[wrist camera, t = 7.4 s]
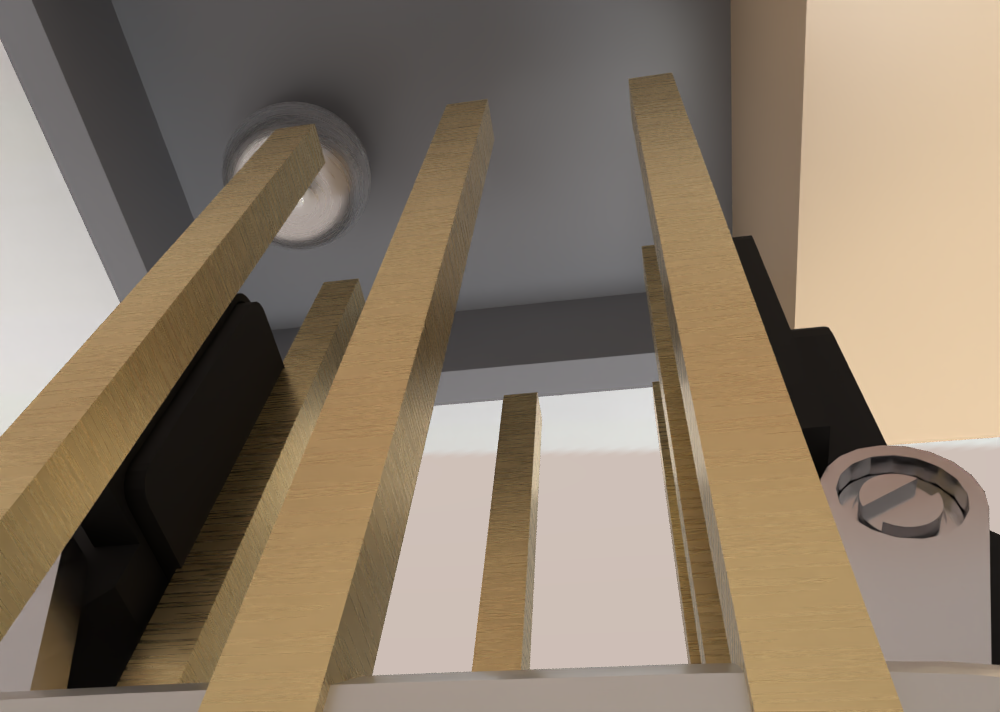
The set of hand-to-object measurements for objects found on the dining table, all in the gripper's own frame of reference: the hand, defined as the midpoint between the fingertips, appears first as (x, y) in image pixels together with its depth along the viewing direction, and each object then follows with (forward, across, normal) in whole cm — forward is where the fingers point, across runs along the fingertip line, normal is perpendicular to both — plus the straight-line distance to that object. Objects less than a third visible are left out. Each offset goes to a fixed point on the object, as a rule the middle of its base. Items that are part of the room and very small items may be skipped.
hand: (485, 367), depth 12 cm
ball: (+9, +5, 0) cm, 10 cm away
